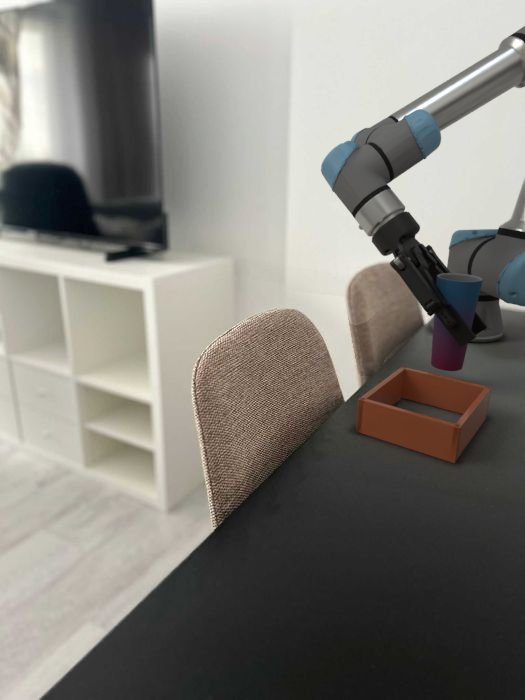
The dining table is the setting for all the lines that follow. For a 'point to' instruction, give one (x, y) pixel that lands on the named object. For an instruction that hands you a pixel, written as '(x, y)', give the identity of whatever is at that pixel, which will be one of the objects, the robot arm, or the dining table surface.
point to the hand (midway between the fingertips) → (474, 336)
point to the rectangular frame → (420, 429)
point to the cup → (464, 299)
